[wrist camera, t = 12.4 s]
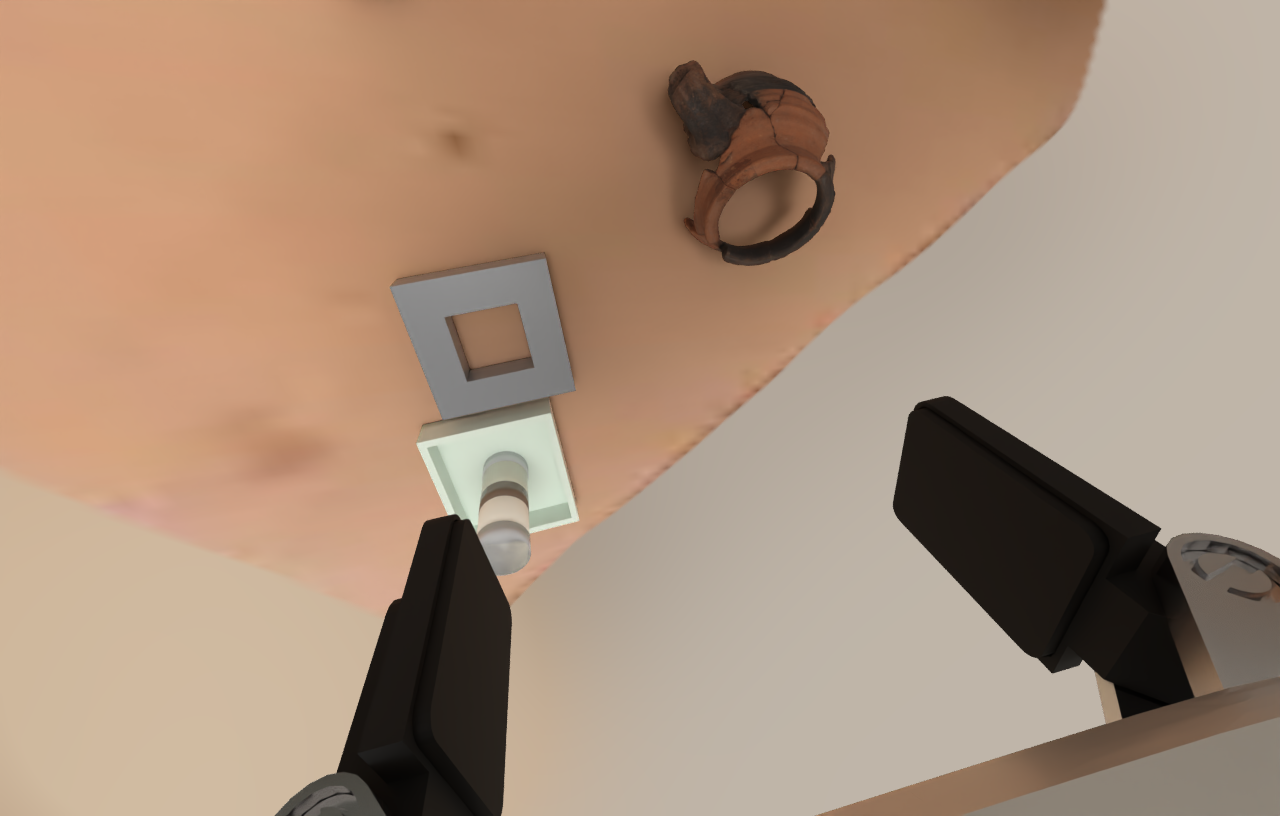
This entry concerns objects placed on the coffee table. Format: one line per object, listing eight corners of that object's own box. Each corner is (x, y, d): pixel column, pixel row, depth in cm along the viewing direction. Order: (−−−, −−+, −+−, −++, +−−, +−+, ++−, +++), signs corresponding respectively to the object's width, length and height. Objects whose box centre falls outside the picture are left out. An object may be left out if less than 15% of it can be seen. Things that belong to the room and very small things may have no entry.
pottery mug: (831, 118, 31) (883, 198, 26) (721, 221, 36) (749, 300, 32) (710, -35, 23) (756, 42, 19) (595, 124, 29) (611, 211, 25)
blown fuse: (522, 446, 35) (523, 528, 28) (532, 481, 37) (536, 567, 29) (477, 456, 35) (465, 542, 27) (490, 491, 37) (482, 581, 29)
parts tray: (548, 396, 35) (550, 412, 32) (575, 500, 40) (579, 520, 37) (422, 424, 33) (416, 443, 31) (466, 528, 38) (463, 550, 36)
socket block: (544, 252, 30) (545, 258, 28) (572, 378, 34) (575, 390, 33) (397, 278, 29) (389, 286, 27) (446, 406, 33) (442, 420, 31)
